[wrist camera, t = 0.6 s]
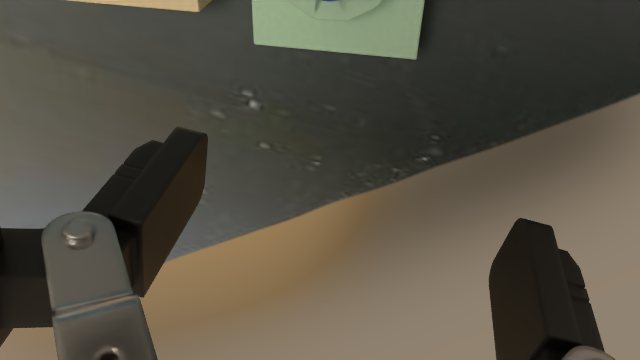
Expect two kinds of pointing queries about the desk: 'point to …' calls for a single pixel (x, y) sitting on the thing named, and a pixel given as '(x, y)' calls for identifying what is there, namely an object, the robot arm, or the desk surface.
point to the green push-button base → (341, 25)
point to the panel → (157, 4)
